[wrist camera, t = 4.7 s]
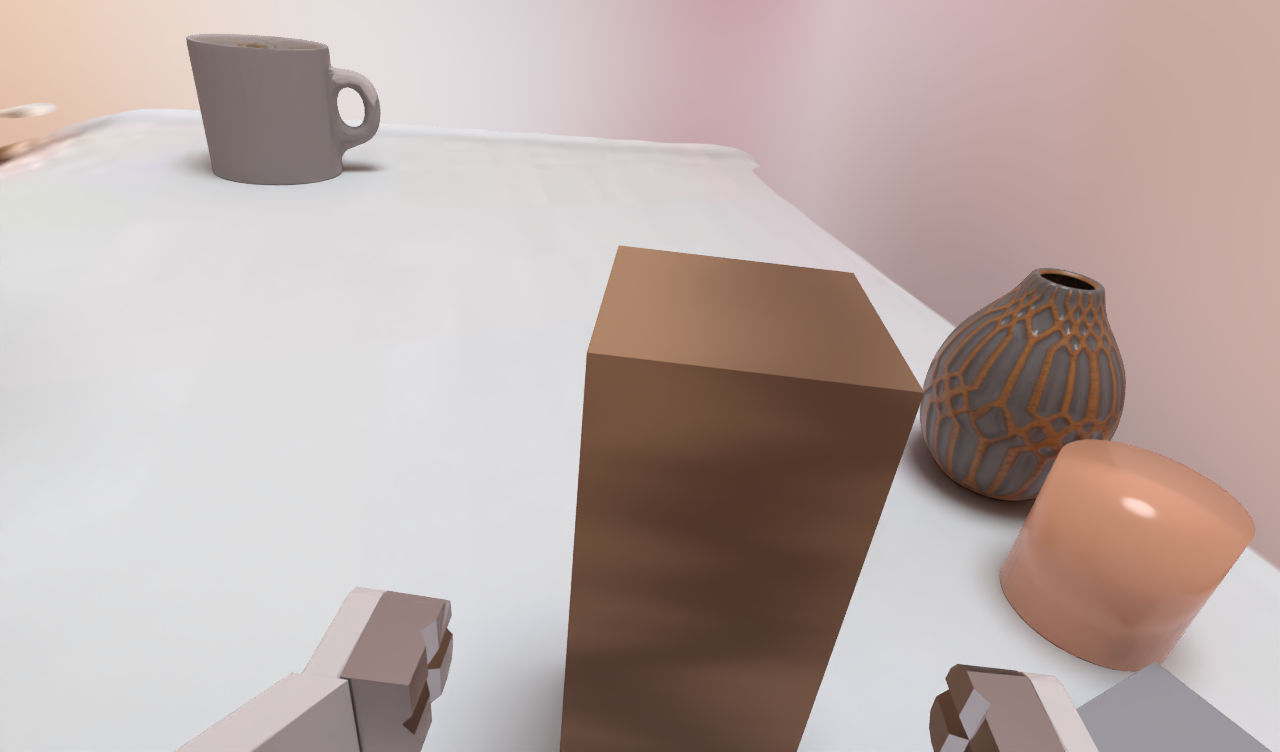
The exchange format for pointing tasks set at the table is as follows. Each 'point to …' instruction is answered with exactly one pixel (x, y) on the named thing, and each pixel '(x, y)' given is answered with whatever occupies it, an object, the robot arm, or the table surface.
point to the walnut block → (723, 498)
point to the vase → (1023, 385)
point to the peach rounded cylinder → (1121, 553)
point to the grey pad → (1160, 718)
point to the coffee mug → (275, 108)
